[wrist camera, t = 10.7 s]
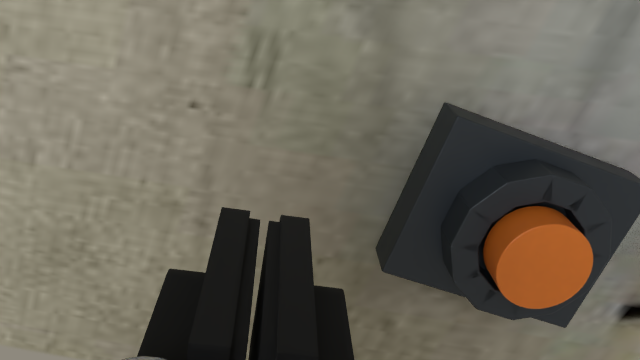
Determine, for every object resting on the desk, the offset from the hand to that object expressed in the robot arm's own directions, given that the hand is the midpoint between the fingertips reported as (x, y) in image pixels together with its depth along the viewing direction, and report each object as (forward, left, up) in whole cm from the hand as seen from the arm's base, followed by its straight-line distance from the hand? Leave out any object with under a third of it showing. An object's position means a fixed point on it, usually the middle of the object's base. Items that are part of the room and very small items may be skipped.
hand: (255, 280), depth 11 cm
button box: (-11, -5, -15) cm, 20 cm away
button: (-11, -5, -12) cm, 17 cm away
